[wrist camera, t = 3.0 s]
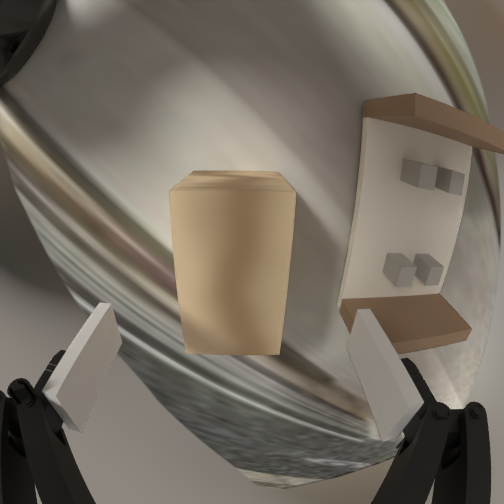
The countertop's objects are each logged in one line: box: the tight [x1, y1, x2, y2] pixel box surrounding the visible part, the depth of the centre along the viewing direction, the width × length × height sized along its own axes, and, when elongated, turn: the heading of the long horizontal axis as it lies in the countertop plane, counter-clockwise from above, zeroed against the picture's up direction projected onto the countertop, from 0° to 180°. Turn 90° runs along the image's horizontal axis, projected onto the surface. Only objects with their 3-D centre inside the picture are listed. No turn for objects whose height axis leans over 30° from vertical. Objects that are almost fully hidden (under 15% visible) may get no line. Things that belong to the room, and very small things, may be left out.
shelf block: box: [169, 171, 296, 355], centre depth 21 cm, size 7×12×8 cm, turn 178°
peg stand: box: [337, 93, 504, 354], centre depth 20 cm, size 13×20×8 cm, turn 178°
